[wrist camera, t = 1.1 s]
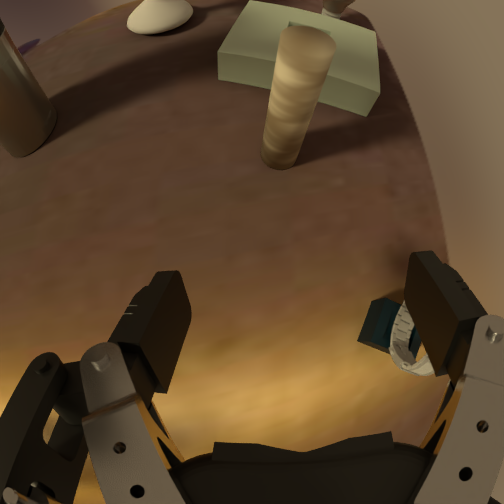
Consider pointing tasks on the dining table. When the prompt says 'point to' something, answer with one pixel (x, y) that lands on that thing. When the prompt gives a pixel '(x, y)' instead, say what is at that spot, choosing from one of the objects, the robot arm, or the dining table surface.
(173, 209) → the dining table surface
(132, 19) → the flower in vase
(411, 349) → the watch
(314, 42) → the peg
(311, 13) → the hole block
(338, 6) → the light bulb
